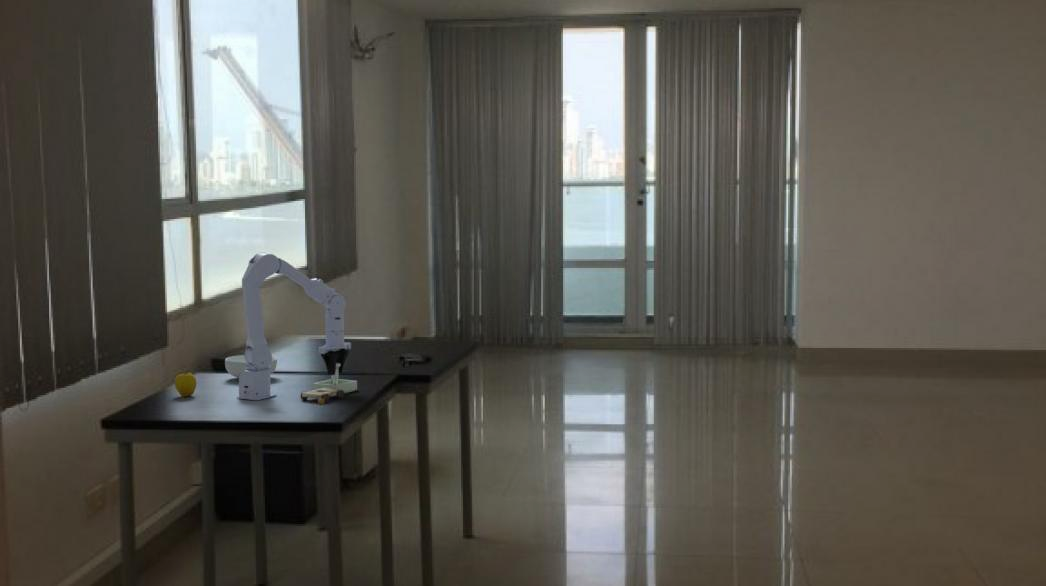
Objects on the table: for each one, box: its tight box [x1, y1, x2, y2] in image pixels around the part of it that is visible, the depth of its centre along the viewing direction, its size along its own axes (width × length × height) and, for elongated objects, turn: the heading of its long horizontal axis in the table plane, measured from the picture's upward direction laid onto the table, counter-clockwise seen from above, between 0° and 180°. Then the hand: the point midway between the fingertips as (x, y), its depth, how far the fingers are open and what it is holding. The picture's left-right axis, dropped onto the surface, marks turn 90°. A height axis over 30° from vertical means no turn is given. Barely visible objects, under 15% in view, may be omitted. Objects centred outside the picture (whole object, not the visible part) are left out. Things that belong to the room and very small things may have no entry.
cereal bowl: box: [224, 354, 278, 379], centre depth 394 cm, size 17×17×7 cm
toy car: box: [300, 388, 346, 405], centre depth 357 cm, size 12×9×3 cm
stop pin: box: [330, 363, 341, 385], centre depth 371 cm, size 3×3×7 cm
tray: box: [312, 378, 358, 394], centre depth 371 cm, size 11×9×3 cm
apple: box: [174, 370, 197, 398], centre depth 360 cm, size 6×6×8 cm
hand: (335, 373), depth 371 cm, fingers closed on stop pin, 3 cm apart
